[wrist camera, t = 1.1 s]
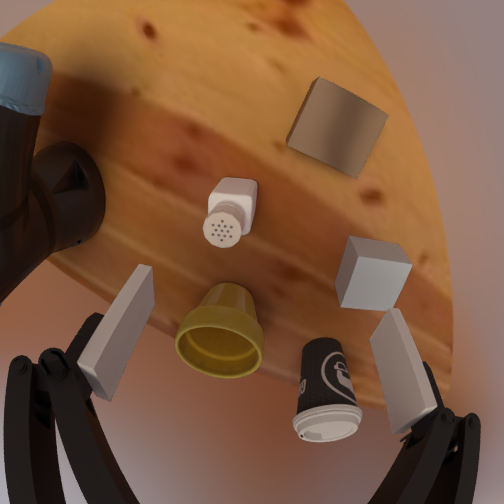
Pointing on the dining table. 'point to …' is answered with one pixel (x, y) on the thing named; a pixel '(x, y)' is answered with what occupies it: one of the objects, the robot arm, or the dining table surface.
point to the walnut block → (336, 127)
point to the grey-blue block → (371, 274)
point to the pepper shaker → (230, 211)
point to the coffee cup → (325, 394)
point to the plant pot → (222, 334)
